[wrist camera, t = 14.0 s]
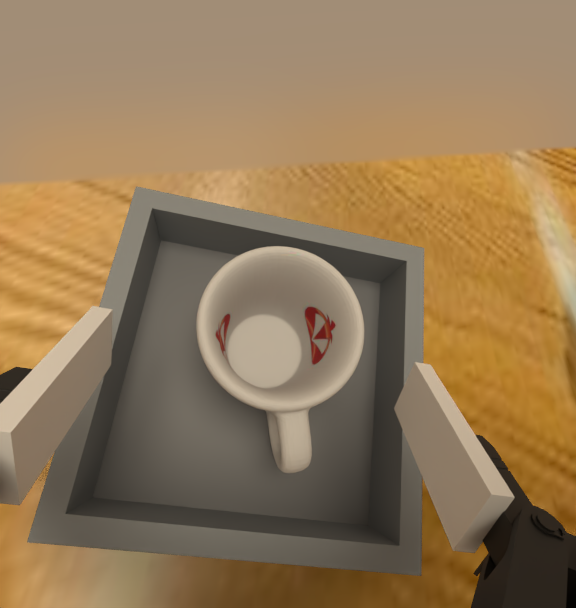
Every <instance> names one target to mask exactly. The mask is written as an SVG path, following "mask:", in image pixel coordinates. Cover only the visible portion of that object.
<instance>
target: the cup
mask: <svg viewBox="0 0 576 608" xmlns="http://www.w3.org/2000/svg"><path fill="white" fill-rule="evenodd" d="M196 332H197V340H198V345H199V349H200V352H201V355H202V358H203V360H204V362H205V365H206V366H207V368H208V370H209V372H210V373H211V375H212V376H213V377H214V379H215V380H216V381H217V382H218V383H219V385H220V386H221V387H222V388H223V389H225V390H226V391H227V392H228V393H229V394H231V395H232V396H233V397H235V398H236V399H238V400H240V401H241V402H243V403H245V404H247V405H250V406H252V407H255V408H258V409H261V410H265V411H266V414H267V420H268V428H269V435H270V442H271V447H272V451H273V456H274V459H275V462H276V464H277V466H278V468H279V469H280V470H281V471H282V472H284V473H295V472H299V471H303V470H304V469H305V468H307V467H308V466H309V464H310V462H311V457H312V445H311V434H310V426H309V417H308V412H309V409H310V408H311V407H314V406H316V405H318V404H321V403H322V402H324V401H326V400H328V399H329V398H330V397H332V396H333V395H334V394H336V393H337V392H338V391H339V390H340V389H341V388H342V387H343V386H344V385H345V384H346V383H347V381H348V380H349V379H350V377H351V376H352V374H353V372H354V371H355V369H356V367H357V365H358V362H359V360H360V357H361V354H362V349H363V344H364V321H363V315H362V311H361V307H360V304H359V302H358V299H357V297H356V295H355V293H354V291H353V289H352V288H351V286H350V285H349V283H348V282H347V281H346V279H345V278H344V277H343V276H342V275H341V273H340V272H338V271H337V270H336V269H335V268H334V267H333V266H332V265H330V264H329V263H328V262H326V261H325V260H323V259H322V258H320V257H318V256H316V255H314V254H312V253H309V252H307V251H304V250H301V249H297V248H292V247H284V246H270V247H262V248H257V249H254V250H250V251H248V252H245V253H243V254H241V255H239V256H237V257H235V258H234V259H232V260H231V261H229V262H228V263H226V264H225V265H224V266H223V267H222V268H221V269H220V270H219V271H218V272H217V273H216V274H215V275H214V276H213V278H212V279H211V280H210V282H209V284H208V285H207V287H206V289H205V291H204V293H203V295H202V298H201V300H200V304H199V308H198V312H197V320H196Z"/></svg>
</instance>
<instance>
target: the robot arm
mask: <svg viewBox="0 0 576 608" xmlns="http://www.w3.org/2000/svg"><path fill="white" fill-rule="evenodd" d="M112 316H113V309H107V308H101V307H96V306H92V308H91V309H90V310H89V311H88V312H87V313H86V314H85V315H84V316H83V317H82V318H81V319H80V320H79V321H78V322H77V323H76V324H75V325H74V327H73V328H72V329H71V330H70V331H69V332H68V333H67V334H66V335H65V336H64V337H63V338H62V339H61V340H60V341H59V342H58V343H57V344H56V346H55V347H54V348H53V349H52V350H51V351H50V352H49V353H48V354H47V355H46V356H45V357H44V358H43V359H42V360H41V361H40V362H39V363H38V365H37V366H36V367H35V368H34V369H27V368H21V367H15V368H13V369H11V370H9V371H7V372H5V373H3V374H1V375H0V503H4V504H13V505H20V504H21V503H22V501H23V500H24V498H25V497H26V495H27V493H28V492H29V490H30V489H31V487H32V486H33V484H34V483H35V481H36V480H37V478H38V477H39V475H40V473H41V472H42V470H43V469H44V467H45V466H46V464H47V463H48V461H49V460H50V458H51V457H52V455H53V453H54V452H55V450H56V449H57V447H58V446H59V444H60V443H61V441H62V440H63V438H64V437H65V435H66V433H67V432H68V430H69V429H70V427H71V426H72V424H73V423H74V421H75V420H76V418H77V416H78V415H79V413H80V412H81V410H82V409H83V407H84V406H85V404H86V403H87V401H88V400H89V398H90V396H91V395H92V393H93V392H94V390H95V389H96V387H97V386H98V384H99V383H100V381H101V380H102V378H103V376H104V375H105V373H106V372H107V370H108V369H109V367H110V366H111V355H112ZM394 410H395V412H396V415H397V417H398V420H399V422H400V424H401V427H402V429H403V432H404V434H405V436H406V439H407V441H408V444H409V446H410V449H411V451H412V453H413V456H414V458H415V461H416V463H417V465H418V468H419V470H420V473H421V475H422V477H423V480H424V482H425V485H426V487H427V489H428V492H429V494H430V497H431V499H432V501H433V504H434V506H435V509H436V511H437V514H438V516H439V518H440V521H441V523H442V526H443V528H444V530H445V533H446V535H447V538H448V540H449V542H450V545H451V547H452V550H453V551H460V552H470V553H475V552H476V550H477V549H478V547H479V546H480V545H481V543H482V542H484V544H485V546H486V548H487V550H488V552H489V553H488V555H487V556H486V557H485V559H484V560H483V561H482V563H481V564H480V565H479V567H478V568H477V569H476V571H475V572H474V574H475V575H476V576H478V574H479V573H480V572H481V573H480V576H479V580H478V584H477V587H476V591H475V594H474V598H473V602H472V605H471V608H576V536H573V535H571V534H569V533H566V531H565V529H564V528H563V526H562V525H561V524H560V523H559V522H558V521H557V520H556V519H555V518H554V517H553V516H552V515H550V514H549V513H548V512H546V511H545V510H543V509H541V508H539V507H536V506H533V505H532V504H531V502H530V501H529V499H528V498H527V496H526V495H525V493H524V492H523V490H522V489H521V487H520V486H519V484H518V483H517V481H516V480H515V478H514V477H513V475H512V474H511V472H510V471H508V468H507V466H506V465H505V463H504V462H503V461H501V457H500V456H499V454H498V453H497V451H496V450H495V448H494V447H493V446H492V445H491V444H490V443H489V442H488V441H487V440H486V439H485V438H484V437H482V436H480V435H475V434H474V432H473V431H472V429H471V428H470V426H469V424H468V423H467V421H466V420H465V418H464V417H463V415H462V413H461V412H460V410H459V409H458V407H457V406H456V404H455V402H454V401H453V399H452V398H451V396H450V395H449V393H448V391H447V390H446V388H445V387H444V385H443V384H442V382H441V380H440V379H439V377H438V376H437V374H436V373H435V371H434V369H433V368H432V366H431V365H429V364H423V363H418V362H415V363H414V365H413V367H412V369H411V371H410V374H409V376H408V378H407V380H406V383H405V385H404V387H403V389H402V391H401V394H400V396H399V398H398V400H397V403H396V405H395V407H394Z"/></svg>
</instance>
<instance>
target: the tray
mask: <svg viewBox="0 0 576 608" xmlns="http://www.w3.org/2000/svg"><path fill="white" fill-rule="evenodd" d="M270 246H284V247H292V248H297V249H301V250H304V251H307V252H309V253H312V254H314V255H316V256H318V257H320V258H322V259H323V260H325V261H326V262H328V263H329V264H330V265H332V266H333V267H334V268H335V269H336V270H337V271H338V272H340V273H341V275H342V276H343V277H344V278H345V279H346V281H347V282H348V283H349V285H350V286H351V288H352V289H353V291H354V293H355V295H356V297H357V299H358V302H359V304H360V307H361V311H362V315H363V321H364V344H363V349H362V354H361V357H360V360H359V362H358V365H357V367H356V369H355V371H354V372H353V374H352V376H351V377H350V379H349V380H348V381H347V383H346V384H345V385H344V386H343V387H342V388H341V389H340V390H339V391H338V392H337V393H336V394H334V395H333V396H332V397H330V398H329V399H328V400H326V401H324V402H322V403H321V404H318V405H316V406H314V407H311V408H310V409H309V412H308V417H309V426H310V434H311V445H312V457H311V462H310V464H309V466H308V467H307V468H305V469H304V470H303V471H299V472H295V473H284V472H282V471H281V470H280V469H279V468H278V466H277V464H276V462H275V459H274V456H273V451H272V447H271V442H270V435H269V428H268V420H267V414H266V411H265V410H261V409H258V408H255V407H252V406H250V405H247V404H245V403H243V402H241V401H240V400H238V399H236V398H235V397H233V396H232V395H231V394H229V393H228V392H227V391H226V390H225V389H223V388H222V387H221V386H220V385H219V383H218V382H217V381H216V380H215V379H214V377H213V376H212V375H211V373H210V372H209V370H208V368H207V366H206V365H205V362H204V360H203V358H202V355H201V352H200V349H199V345H198V340H197V332H196V320H197V312H198V308H199V304H200V300H201V298H202V295H203V293H204V291H205V289H206V287H207V285H208V284H209V282H210V280H211V279H212V278H213V276H214V275H215V274H216V273H217V272H218V271H219V270H220V269H221V268H222V267H223V266H224V265H225V264H226V263H228V262H229V261H231V260H232V259H234V258H235V257H237V256H239V255H241V254H243V253H245V252H248V251H250V250H254V249H257V248H262V247H270ZM99 307H101V308H107V309H113V316H112V355H111V366H110V367H109V369H108V370H107V372H106V373H105V375H104V376H103V378H102V380H101V381H100V383H99V384H98V386H97V387H96V389H95V390H94V392H93V393H92V395H91V396H90V398H89V400H88V401H87V403H86V404H85V406H84V407H83V409H82V410H81V412H80V413H79V415H78V416H77V418H76V420H75V421H74V423H73V424H72V426H71V427H70V429H69V430H68V432H67V433H66V435H65V437H64V438H63V440H62V441H61V443H60V444H59V446H58V447H57V449H56V450H55V453H54V456H53V459H52V463H51V466H50V469H49V472H48V476H47V479H46V482H45V485H44V489H43V492H42V495H41V498H40V502H39V505H38V508H37V511H36V515H35V518H34V521H33V524H32V528H31V531H30V534H29V537H28V541H27V542H30V543H42V544H54V545H66V546H77V547H89V548H101V549H112V550H124V551H136V552H148V553H159V554H171V555H183V556H195V557H206V558H218V559H230V560H241V561H253V562H265V563H277V564H288V565H300V566H312V567H323V568H335V569H347V570H359V571H370V572H382V573H394V574H406V575H417V576H421V563H422V475H421V473H420V470H419V468H418V465H417V463H416V461H415V458H414V456H413V453H412V451H411V449H410V446H409V444H408V441H407V439H406V436H405V434H404V432H403V429H402V427H401V424H400V422H399V420H398V417H397V415H396V412H395V410H394V407H395V405H396V403H397V400H398V398H399V396H400V394H401V391H402V389H403V387H404V385H405V383H406V380H407V378H408V376H409V374H410V371H411V369H412V367H413V365H414V363H415V362H418V363H423V323H424V248H422V247H417V246H412V245H408V244H403V243H398V242H393V241H389V240H384V239H379V238H375V237H370V236H365V235H361V234H356V233H351V232H347V231H342V230H337V229H333V228H328V227H323V226H319V225H314V224H309V223H305V222H300V221H295V220H291V219H286V218H281V217H277V216H272V215H267V214H263V213H258V212H253V211H249V210H244V209H239V208H234V207H230V206H225V205H220V204H216V203H211V202H206V201H202V200H197V199H192V198H188V197H183V196H178V195H174V194H169V193H164V192H160V191H155V190H150V189H146V188H141V187H136V189H135V192H134V195H133V198H132V202H131V205H130V208H129V212H128V215H127V218H126V221H125V225H124V228H123V231H122V234H121V238H120V241H119V244H118V247H117V251H116V254H115V257H114V260H113V264H112V267H111V270H110V273H109V277H108V280H107V283H106V286H105V290H104V293H103V296H102V300H101V303H100V306H99Z"/></svg>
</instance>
